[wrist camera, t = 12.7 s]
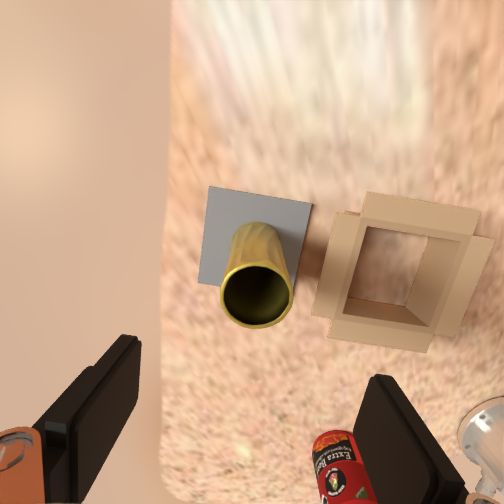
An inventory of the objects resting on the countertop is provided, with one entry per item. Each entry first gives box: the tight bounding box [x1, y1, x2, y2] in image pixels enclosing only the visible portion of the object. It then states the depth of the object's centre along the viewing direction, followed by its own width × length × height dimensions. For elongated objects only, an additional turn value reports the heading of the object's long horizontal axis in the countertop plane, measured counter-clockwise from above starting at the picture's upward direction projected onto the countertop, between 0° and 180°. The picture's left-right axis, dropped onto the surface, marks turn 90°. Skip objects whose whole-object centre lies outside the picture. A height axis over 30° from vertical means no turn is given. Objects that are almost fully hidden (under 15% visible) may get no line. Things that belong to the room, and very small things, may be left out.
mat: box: [198, 186, 312, 287], centre depth 33 cm, size 12×12×1 cm
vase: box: [220, 222, 294, 329], centre depth 26 cm, size 6×6×14 cm
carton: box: [311, 192, 496, 353], centre depth 31 cm, size 17×17×5 cm
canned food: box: [312, 430, 378, 504], centre depth 36 cm, size 8×8×11 cm
